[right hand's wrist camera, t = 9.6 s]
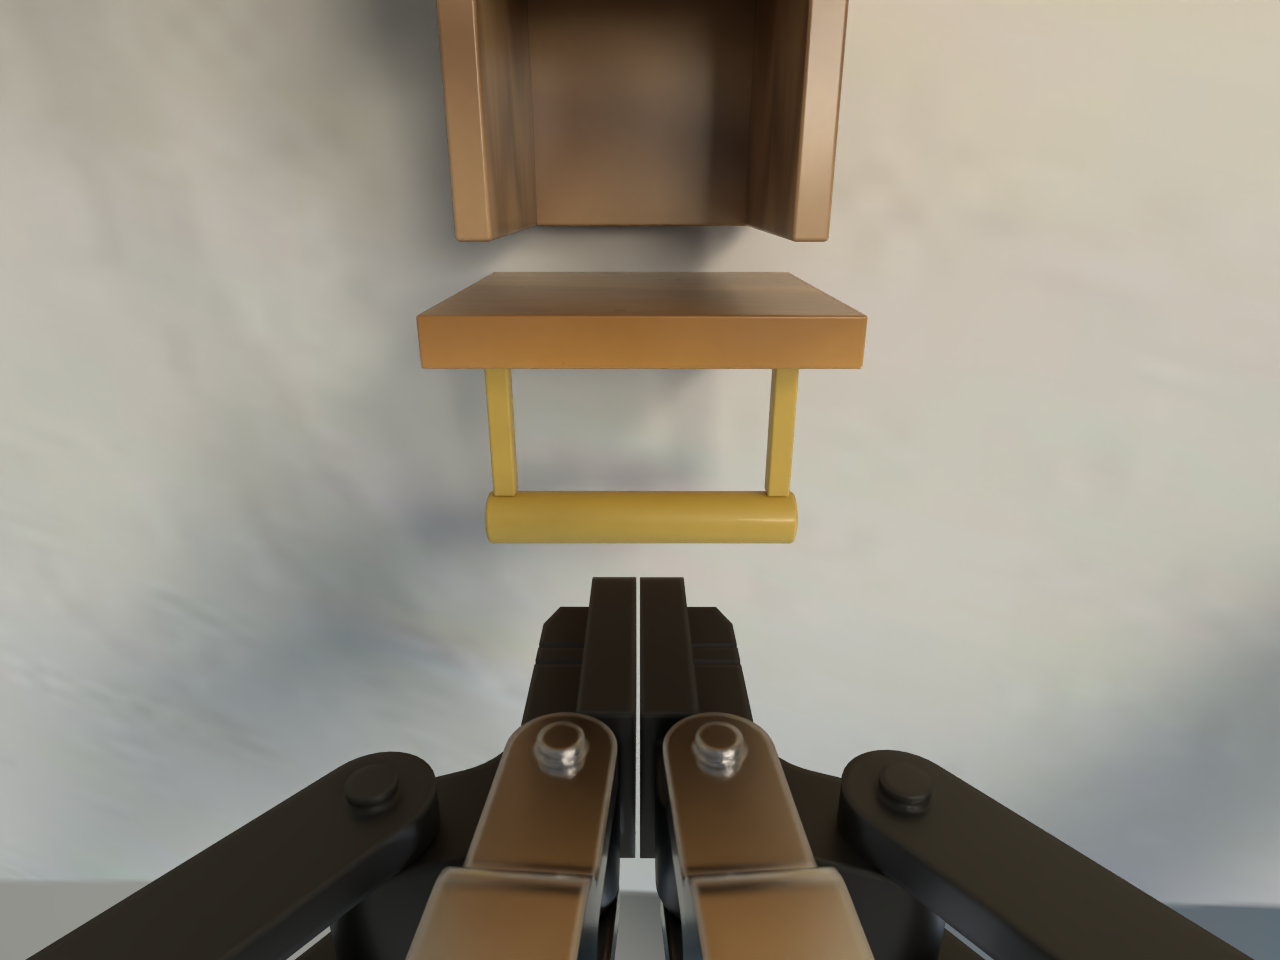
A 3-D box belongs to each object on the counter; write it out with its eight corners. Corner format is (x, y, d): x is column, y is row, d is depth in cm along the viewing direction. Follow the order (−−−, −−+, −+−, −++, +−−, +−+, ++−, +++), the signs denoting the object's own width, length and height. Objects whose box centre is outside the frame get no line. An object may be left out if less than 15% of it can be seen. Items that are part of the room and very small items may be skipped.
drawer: (776, 461, 28) (839, 586, 19) (505, 461, 28) (443, 586, 19) (831, -333, 20) (981, -745, 11) (452, -333, 20) (304, -746, 11)
